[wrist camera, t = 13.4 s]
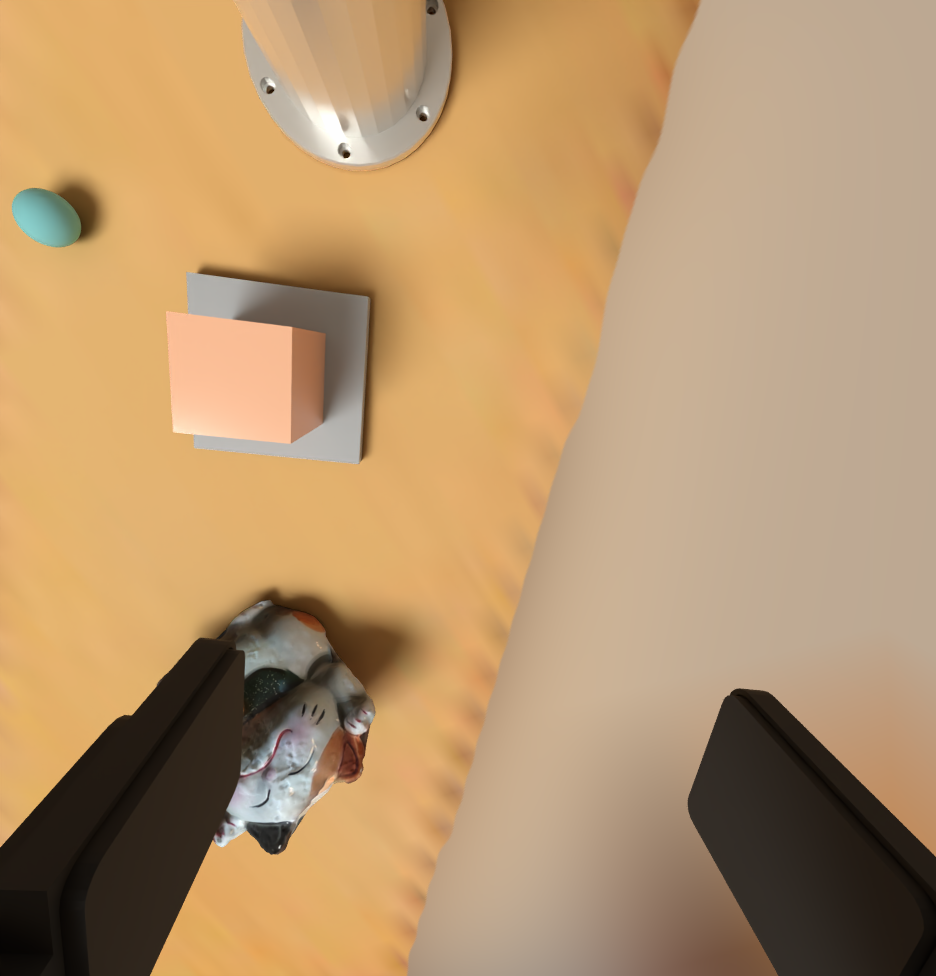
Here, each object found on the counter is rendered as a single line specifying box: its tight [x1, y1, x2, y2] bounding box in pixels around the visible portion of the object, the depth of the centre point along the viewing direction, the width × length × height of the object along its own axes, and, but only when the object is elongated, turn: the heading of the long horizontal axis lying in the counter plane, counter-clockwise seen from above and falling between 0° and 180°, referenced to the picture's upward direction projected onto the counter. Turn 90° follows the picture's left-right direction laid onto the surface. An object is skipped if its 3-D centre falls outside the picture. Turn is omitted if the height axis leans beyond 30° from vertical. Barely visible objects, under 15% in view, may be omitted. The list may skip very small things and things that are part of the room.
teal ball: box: [12, 188, 81, 247], centre depth 29 cm, size 3×3×3 cm
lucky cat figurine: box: [157, 600, 375, 855], centre depth 35 cm, size 15×12×14 cm
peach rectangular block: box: [166, 311, 326, 444], centre depth 29 cm, size 6×6×8 cm
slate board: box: [186, 272, 371, 464], centre depth 33 cm, size 12×12×1 cm
